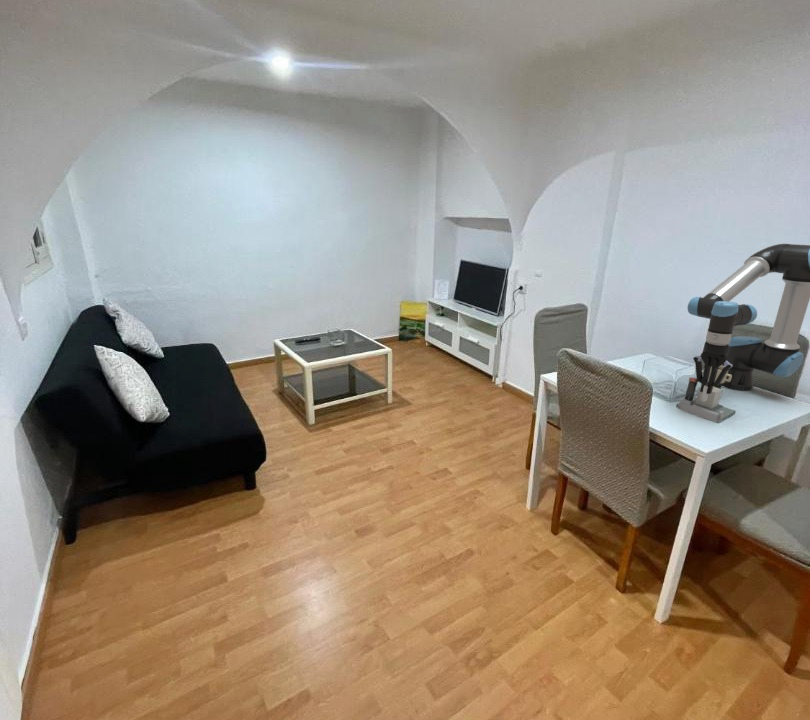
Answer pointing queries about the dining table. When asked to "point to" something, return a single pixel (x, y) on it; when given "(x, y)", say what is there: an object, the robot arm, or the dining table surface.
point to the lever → (690, 392)
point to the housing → (710, 398)
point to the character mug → (718, 375)
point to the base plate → (707, 411)
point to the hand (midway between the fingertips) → (703, 400)
